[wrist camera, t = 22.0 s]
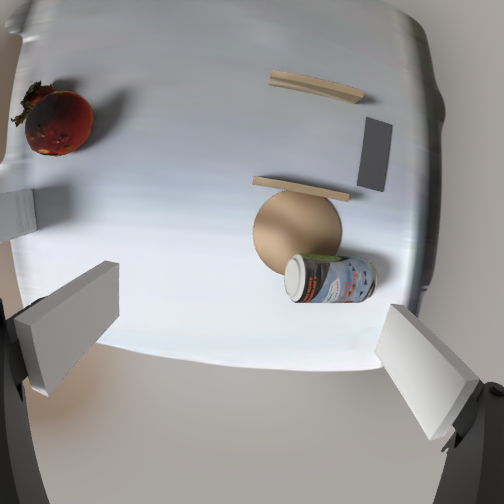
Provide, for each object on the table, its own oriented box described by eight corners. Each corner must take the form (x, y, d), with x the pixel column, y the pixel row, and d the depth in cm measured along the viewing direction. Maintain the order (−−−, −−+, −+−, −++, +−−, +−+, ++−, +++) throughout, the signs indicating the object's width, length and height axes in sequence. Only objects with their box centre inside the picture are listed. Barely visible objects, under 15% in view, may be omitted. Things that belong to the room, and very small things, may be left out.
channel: (270, 78, 34) (271, 69, 31) (354, 97, 35) (363, 91, 31) (252, 184, 38) (252, 184, 34) (340, 200, 38) (348, 202, 35)
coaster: (260, 181, 38) (260, 181, 37) (347, 198, 38) (348, 198, 38) (246, 269, 40) (246, 270, 40) (329, 281, 41) (330, 282, 40)
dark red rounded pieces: (66, 127, 42) (67, 181, 37) (13, 107, 31) (-2, 161, 26) (104, 76, 38) (110, 120, 32) (48, 47, 27) (33, 86, 22)
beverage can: (297, 272, 31) (390, 283, 32) (289, 237, 37) (371, 249, 38) (283, 313, 35) (370, 319, 36) (279, 275, 41) (356, 284, 42)
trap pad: (366, 117, 35) (366, 117, 35) (390, 125, 35) (391, 125, 35) (356, 185, 37) (357, 185, 37) (381, 191, 38) (382, 191, 37)
